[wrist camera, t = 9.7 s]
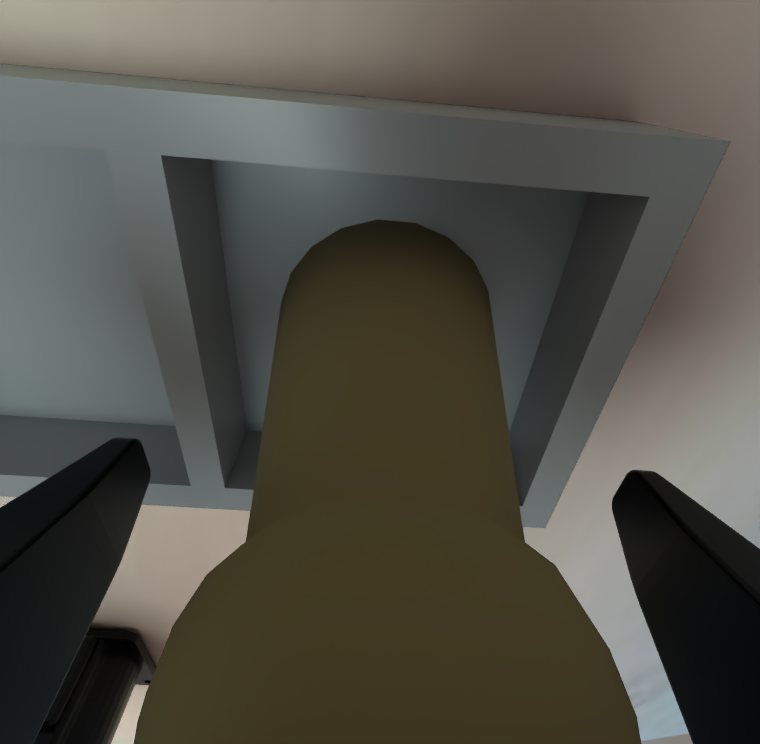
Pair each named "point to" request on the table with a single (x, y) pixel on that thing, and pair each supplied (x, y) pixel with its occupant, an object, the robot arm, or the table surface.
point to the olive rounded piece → (385, 536)
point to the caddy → (289, 245)
